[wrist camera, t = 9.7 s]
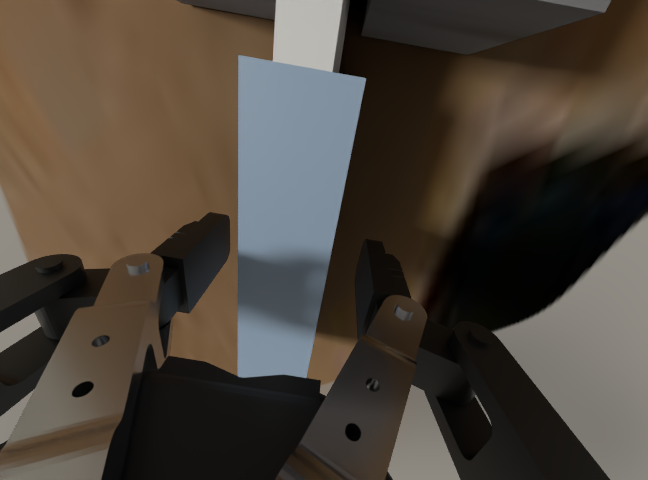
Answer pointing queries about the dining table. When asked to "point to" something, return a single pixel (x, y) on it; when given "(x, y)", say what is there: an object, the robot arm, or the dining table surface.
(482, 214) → the dining table surface
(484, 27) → the brown and grey stand
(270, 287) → the blue and white bar
